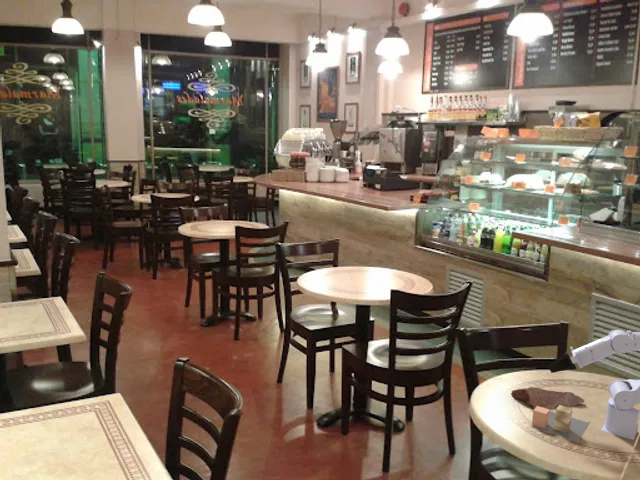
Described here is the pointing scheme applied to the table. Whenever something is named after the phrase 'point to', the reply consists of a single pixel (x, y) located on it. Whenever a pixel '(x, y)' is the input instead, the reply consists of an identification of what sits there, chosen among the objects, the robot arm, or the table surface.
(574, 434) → the slate board
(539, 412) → the terracotta block
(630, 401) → the robot arm
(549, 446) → the table surface
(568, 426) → the beech block
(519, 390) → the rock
